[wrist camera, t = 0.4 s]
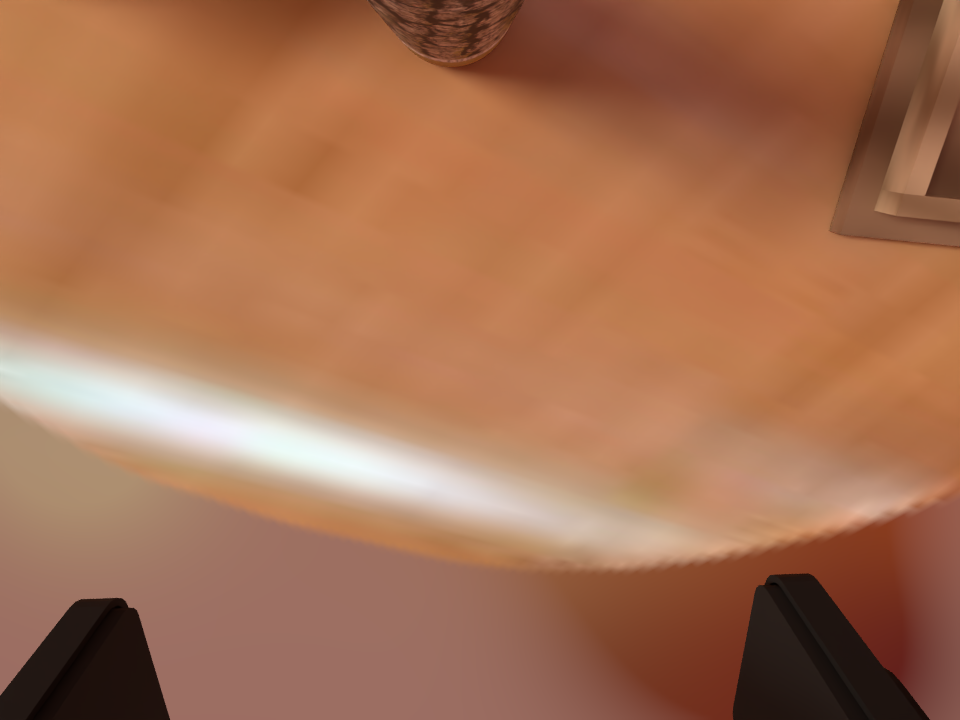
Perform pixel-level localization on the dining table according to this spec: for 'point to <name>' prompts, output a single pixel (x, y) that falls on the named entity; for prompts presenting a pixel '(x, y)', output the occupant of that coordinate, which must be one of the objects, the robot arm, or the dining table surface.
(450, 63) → the wooden log
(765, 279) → the dining table surface
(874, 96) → the board
